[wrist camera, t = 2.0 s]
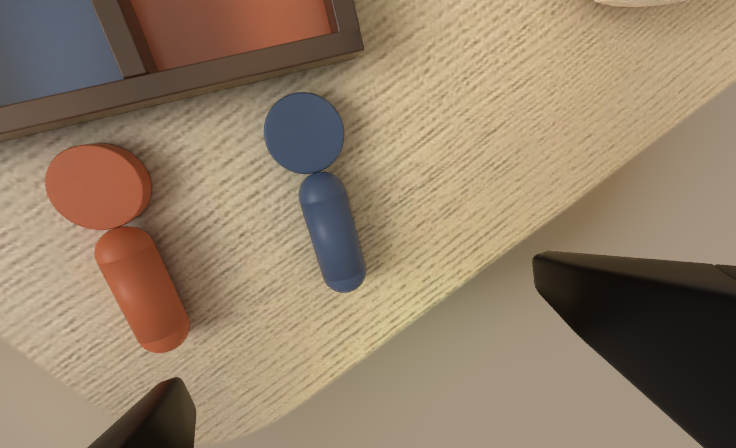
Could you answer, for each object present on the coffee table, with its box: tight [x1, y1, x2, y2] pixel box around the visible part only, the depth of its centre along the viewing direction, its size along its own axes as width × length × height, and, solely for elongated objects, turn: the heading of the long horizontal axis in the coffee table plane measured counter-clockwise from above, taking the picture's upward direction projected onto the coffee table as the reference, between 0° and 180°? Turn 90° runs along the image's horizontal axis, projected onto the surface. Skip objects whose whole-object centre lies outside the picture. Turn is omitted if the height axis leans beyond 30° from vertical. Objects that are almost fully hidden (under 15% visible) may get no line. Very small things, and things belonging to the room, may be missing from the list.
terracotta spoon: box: [45, 143, 190, 353], centre depth 14 cm, size 9×3×2 cm, turn 14°
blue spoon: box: [264, 92, 366, 293], centre depth 16 cm, size 9×3×2 cm, turn 14°
